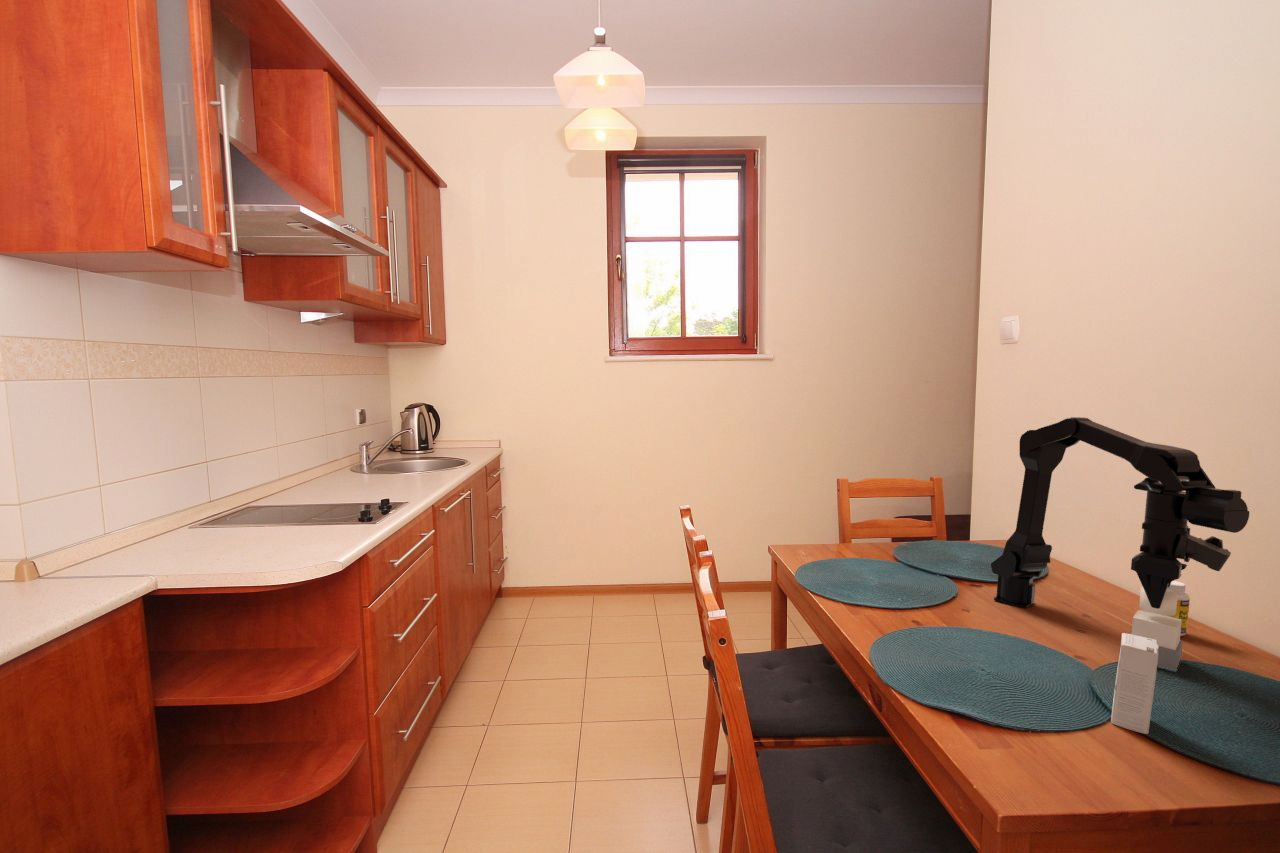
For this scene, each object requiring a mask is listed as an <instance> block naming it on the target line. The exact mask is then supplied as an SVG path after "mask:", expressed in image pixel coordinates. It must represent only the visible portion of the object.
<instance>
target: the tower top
mask: <svg viewBox="0 0 1280 853" xmlns="http://www.w3.org/2000/svg"><path fill="white" fill-rule="evenodd" d="M1181 622H1182V619H1178V618H1173V617H1169V616H1164V615H1160V614H1155V613H1151V612H1148V611H1145V610H1143V609H1138V610H1137V611H1136V612H1135V614H1134V615H1133V617H1132V623H1131V624H1132V625H1131V631H1132V635H1137V636H1141V637H1146V638H1150V639H1155V640H1157V641H1158V646H1160V647H1164V648H1168V649H1172V650H1176V648H1177V646H1178V644H1179V642H1180V640H1181V636H1180V633H1181Z"/></svg>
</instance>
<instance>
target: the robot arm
mask: <svg viewBox="0 0 1280 853" xmlns="http://www.w3.org/2000/svg"><path fill="white" fill-rule="evenodd" d="M1079 442H1083V443H1086V444H1088V445H1090V446H1092V447H1094V448H1097V449H1100V450H1101V451H1104V452H1107V453H1109V454H1112V455H1113V456H1117V457H1119V458H1121V459H1124V460H1125V461H1126V462H1128V463H1130V465H1131V466H1132V467H1133V468H1134V470H1136V471H1137V472H1140V474H1142V475H1144V476H1145V478H1144V479H1143V480H1142V481H1141V482H1139V483H1137V484H1135V485H1133V488H1134V489H1135V490H1139V491H1145V492H1146V500H1145V509H1144V510H1145V511H1144V519H1143V520H1144V521H1143V522H1142V523H1141V529H1142V530H1143V532H1142V542H1141V543H1142V544H1141V545H1140V547H1139V553H1138V554H1135V555H1134V556H1133V557H1132V558H1131V563H1130V564H1131V565H1130V570H1131V571H1134V572H1136V573H1135V574H1136V575H1137V577H1138V579H1139V581H1140V583H1141V584H1140V585H1142V586H1143V588H1144V590H1145V593H1146V595H1147V598H1148V600H1149V602H1150V605H1151V607H1153V608H1157V609H1159V608H1160V606H1161V604H1162V601H1163V598H1164V595H1165V592H1166V590H1167V587H1170V584H1171V582H1172V581H1176V580H1178V579H1180V578H1181V577H1182V571H1183V570H1185V569H1186V568H1187V566H1188V565H1187V563H1189V562H1190V560H1191V559H1192V560H1194V561H1196V562H1198V563H1200V564H1203V565H1205V566H1207V568H1208V569H1210V570H1213V571H1215V572H1220V571H1221V569H1222V568H1223V567H1224V565H1225V564H1226V562H1227V561H1228V559H1229V558H1230V556H1231V554H1232V553H1231V551H1229V549H1226V548H1224V544H1223V543H1224V542H1223V539H1220V538H1219V537H1215V536H1213V535H1212V536H1210V537H1208V538H1205V539H1203V538H1201V537H1196V536H1195V535H1192V534H1191V527H1189V525H1188V523H1190V524H1191V525H1194V526H1198V527H1204V528H1209V529H1215V530H1217V531H1218V530H1219V531H1224V532H1227V533H1228V532H1229V533H1239V532H1241V531H1243V529H1244V528H1245V527H1246V525H1247V524H1248V521H1249V519H1250V511H1249V508H1248V504H1247V503H1246V502H1245V500H1244V499H1243V498H1242V491H1241V490H1236V489H1221V488H1216V486H1215V484H1213V482H1212V481H1211V479H1210V478H1209V476H1208V475H1207V473H1206V472H1205V471H1204V469H1203V467H1202V466H1201V463H1200V460H1199V457H1198V454H1197V453H1195V452H1194V451H1192V450H1190V449H1186V448H1183V447H1178V446H1173V445H1167V444H1161V443H1154V442H1149V441H1148V442H1147V441H1145V440H1141V439H1140V438H1137V437H1134V436H1131V435H1128V434H1127V433H1124V432H1121V431H1118V430H1115V429H1113V428H1110V427H1108V426H1106V425H1103V424H1100V423H1098V422H1096V421H1095V422H1094V421H1093V420H1092V419H1091V418H1088V417H1078V416H1077V417H1073V416H1070V417H1067V418H1063V419H1062V420H1060V421H1058V422H1056V423H1052V424H1049V425H1045V426H1044V427H1039V428H1037V429H1028V430H1027V431H1025V432H1024V433H1022V434H1021V435H1020V437H1019V458H1020V460H1021V462H1022V464H1023V466H1024V474H1023V482H1022V488H1021V494H1020V500H1019V508H1018V514H1017V518H1016V519H1017V521H1016V526H1015V529H1014V532H1013V533H1012V534H1011V536H1010V537H1009V538H1008V539H1007V540H1006V542H1005V545H1004V547H1003V548H1004V549H1003V551H1002V553H1001V555H1000V556H999V557H997V558H996V559H995V560H993V561H992V562H991V563H990V567H991V572H992V573H993V574H995V575H997V584H996V596H995V597H993V601H995V602H999V603H1003V604H1007V605H1012V606H1015V607H1019V608H1023V609H1027V608H1028V607H1029V606H1031V605H1032V604H1033V603H1034V602H1035V599H1036V598H1035V596H1036V595H1035V594H1036V584H1035V583H1034V578H1039V577H1040V576H1041V574H1042V572H1043V570H1045V569H1046V568H1047V565H1048V564H1050V563H1051V553H1052V550H1053V546H1052V544H1047V543H1046V541H1045V539H1044V536H1043V532H1044V531H1043V530H1044V525H1045V524H1044V523H1045V520H1046V519H1045V518H1046V512H1047V507H1048V501H1049V494H1050V489H1051V481H1052V475H1053V472H1054V470H1055V469H1056V468H1057V467H1058V466H1059V464H1060V463H1062V460H1063V458H1064V456H1065V453H1066V450H1067V448H1070V447H1072V446H1075V445H1077V444H1078V443H1079ZM1178 559H1180V560H1184V562H1185V563H1182V562H1180V560H1178Z"/></svg>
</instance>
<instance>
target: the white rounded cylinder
mask: <svg viewBox="0 0 1280 853" xmlns="http://www.w3.org/2000/svg"><path fill="white" fill-rule="evenodd" d="M1140 585H1141V586H1140V593H1139V594H1140V595H1139V603H1138V604H1139V605H1138V606H1139V608H1140V610H1142V611H1147V612H1151V613H1155V614H1160V615H1168V616H1173V615H1176V608H1177V598H1178V591H1177V590H1175V589H1172V588H1169V587H1167V590H1166V592H1165V595H1164V598H1163V601H1162V604H1161V606H1160V608H1159V609H1157V608H1153V607H1151V605H1150V602H1149V600H1148V598H1147V595H1146V593H1145V590H1144V588H1143V586H1142V584H1140Z"/></svg>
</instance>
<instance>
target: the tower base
mask: <svg viewBox="0 0 1280 853" xmlns="http://www.w3.org/2000/svg"><path fill="white" fill-rule="evenodd" d="M1129 634H1132V630H1131V631H1130V632H1129ZM1183 642H1184V641H1183V640H1181V639H1180V642H1179V644H1178V646H1177V648H1176V650H1172V649H1168V648H1164V647H1160V646H1159V648H1158V663H1157V665H1160V666H1164V667H1168V668H1173V669H1175V670H1176V669H1177V666H1178V663H1179V661H1180V660H1181V661H1182V652H1183ZM1177 670H1178V669H1177Z"/></svg>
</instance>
